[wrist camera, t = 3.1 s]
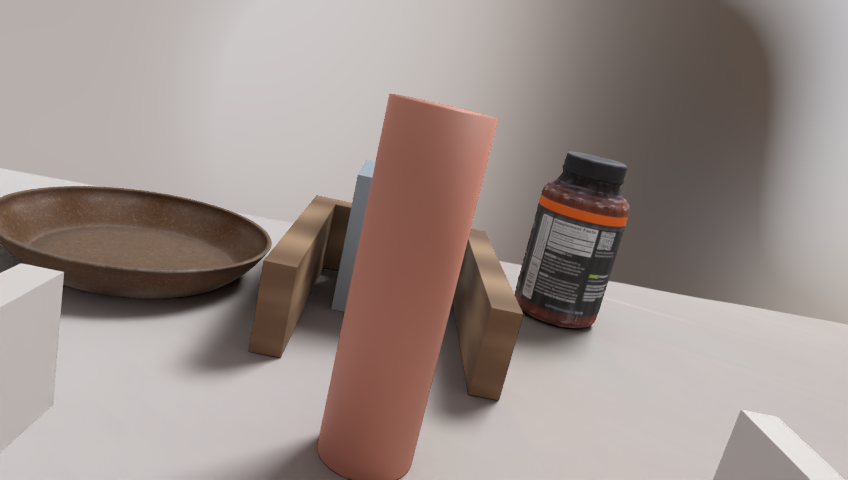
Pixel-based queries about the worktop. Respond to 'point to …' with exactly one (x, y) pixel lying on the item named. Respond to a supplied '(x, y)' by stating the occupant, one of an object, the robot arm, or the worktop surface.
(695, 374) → the worktop surface
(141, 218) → the saucer
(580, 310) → the supplement bottle
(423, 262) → the block
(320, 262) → the wooden u-shaped frame
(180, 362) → the worktop surface
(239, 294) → the worktop surface
